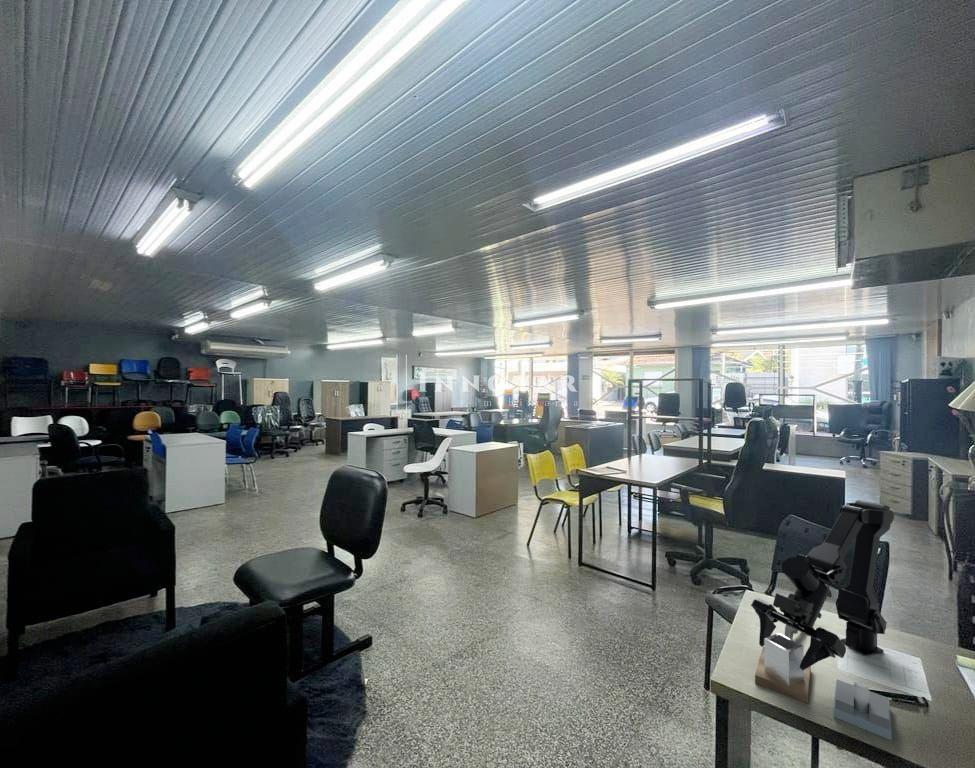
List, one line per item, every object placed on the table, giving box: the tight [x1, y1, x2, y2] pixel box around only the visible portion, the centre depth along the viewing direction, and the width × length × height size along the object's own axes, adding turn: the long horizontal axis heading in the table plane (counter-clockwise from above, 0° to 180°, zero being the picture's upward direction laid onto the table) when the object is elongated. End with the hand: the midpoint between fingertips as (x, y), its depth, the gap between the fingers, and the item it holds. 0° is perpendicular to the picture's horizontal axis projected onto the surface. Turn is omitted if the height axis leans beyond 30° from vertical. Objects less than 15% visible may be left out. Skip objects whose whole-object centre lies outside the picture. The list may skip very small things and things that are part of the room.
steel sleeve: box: [763, 632, 805, 687], centre depth 100 cm, size 6×6×8 cm
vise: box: [832, 679, 893, 741], centre depth 91 cm, size 11×9×7 cm
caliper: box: [784, 621, 801, 641], centre depth 120 cm, size 20×1×6 cm, turn 127°
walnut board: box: [754, 646, 812, 704], centre depth 102 cm, size 14×10×2 cm
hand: (780, 656), depth 99 cm, fingers open, 9 cm apart
